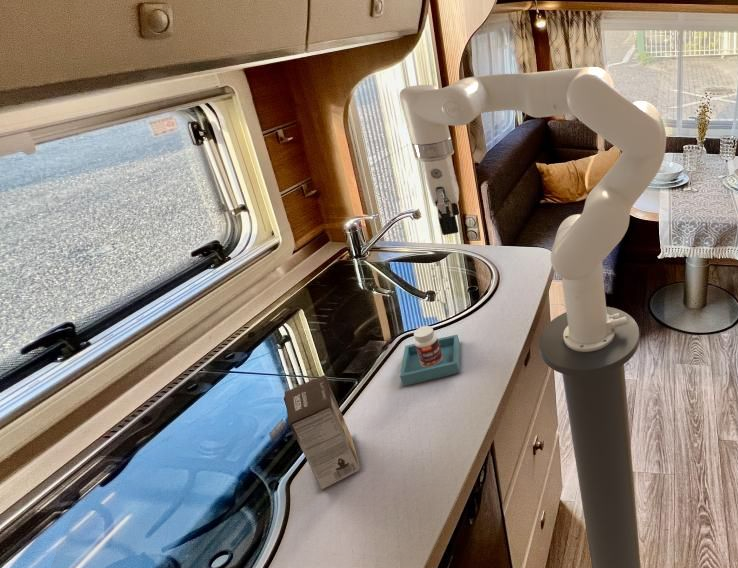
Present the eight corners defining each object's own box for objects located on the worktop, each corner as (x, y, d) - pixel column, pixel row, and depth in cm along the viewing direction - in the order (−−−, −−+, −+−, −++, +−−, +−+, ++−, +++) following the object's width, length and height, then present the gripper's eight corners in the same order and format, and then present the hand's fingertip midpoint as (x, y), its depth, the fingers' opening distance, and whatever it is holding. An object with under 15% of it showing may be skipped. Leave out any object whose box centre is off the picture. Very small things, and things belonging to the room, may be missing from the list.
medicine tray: (459, 343, 119) (457, 334, 118) (459, 372, 110) (456, 363, 109) (408, 355, 116) (405, 345, 115) (403, 386, 107) (399, 376, 106)
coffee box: (314, 455, 92) (283, 390, 85) (352, 437, 95) (325, 373, 88) (321, 491, 85) (287, 423, 78) (362, 470, 88) (333, 403, 81)
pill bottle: (427, 371, 110) (418, 341, 106) (416, 362, 113) (407, 332, 109) (447, 359, 113) (438, 329, 109) (436, 351, 116) (427, 322, 112)
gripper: (451, 157, 95) (469, 237, 102) (453, 135, 109) (468, 206, 117) (409, 163, 93) (430, 244, 100) (417, 140, 108) (435, 211, 115)
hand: (451, 224), depth 108 cm, fingers open, 9 cm apart
